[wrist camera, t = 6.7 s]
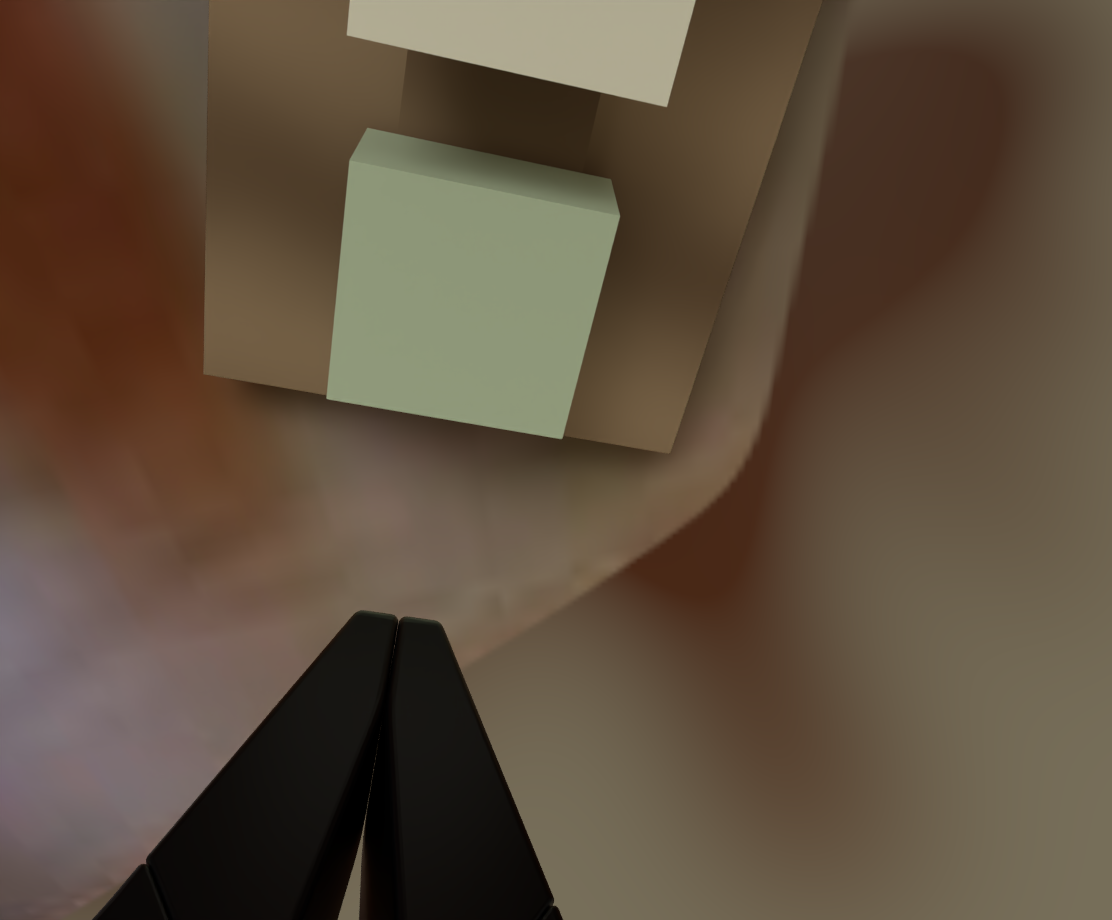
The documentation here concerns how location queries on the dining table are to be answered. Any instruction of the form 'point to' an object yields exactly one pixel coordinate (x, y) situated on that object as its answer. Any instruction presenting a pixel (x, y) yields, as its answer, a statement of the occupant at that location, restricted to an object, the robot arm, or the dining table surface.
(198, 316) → the dining table surface
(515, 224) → the pale green cube
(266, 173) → the walnut panel
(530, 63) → the white cube
